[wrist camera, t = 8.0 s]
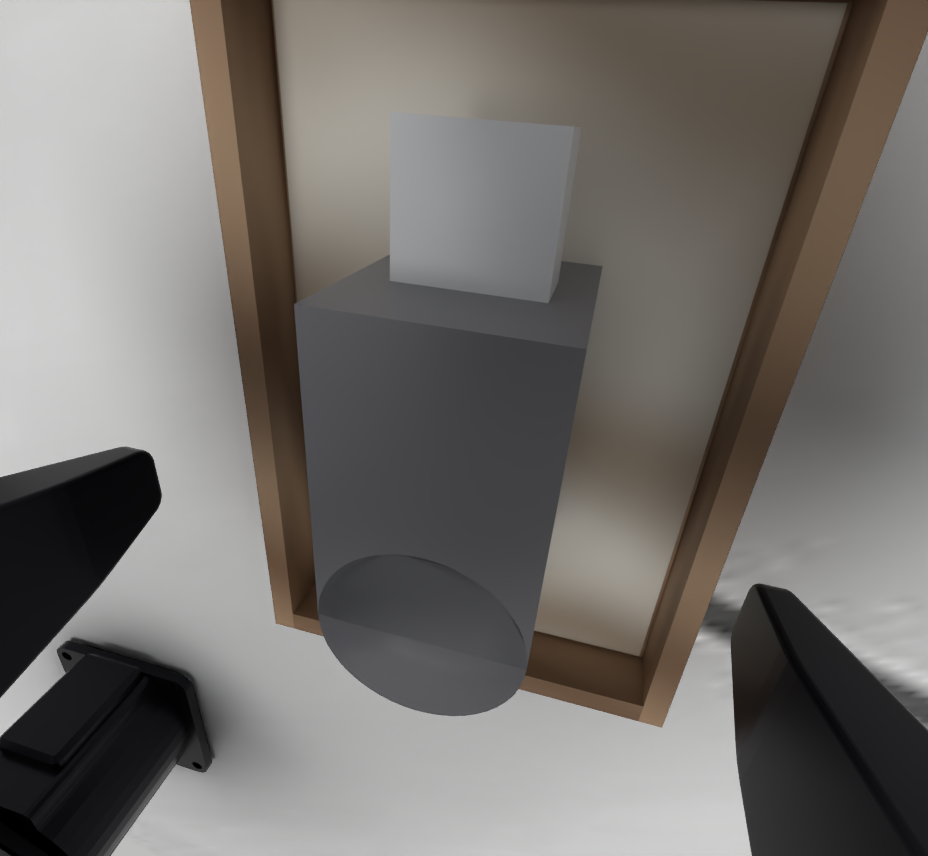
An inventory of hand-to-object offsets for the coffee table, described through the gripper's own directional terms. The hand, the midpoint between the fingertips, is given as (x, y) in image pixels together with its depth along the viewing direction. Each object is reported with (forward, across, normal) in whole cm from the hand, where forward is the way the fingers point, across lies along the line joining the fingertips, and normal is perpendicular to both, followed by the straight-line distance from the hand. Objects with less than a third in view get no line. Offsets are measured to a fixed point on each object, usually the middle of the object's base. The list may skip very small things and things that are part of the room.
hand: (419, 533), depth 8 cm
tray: (+7, 0, 0) cm, 7 cm away
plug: (+6, 0, 0) cm, 6 cm away
